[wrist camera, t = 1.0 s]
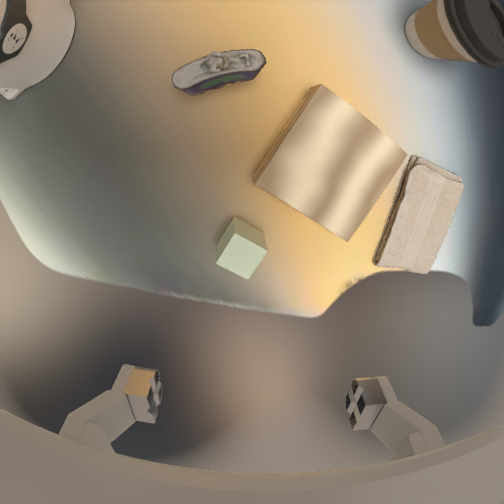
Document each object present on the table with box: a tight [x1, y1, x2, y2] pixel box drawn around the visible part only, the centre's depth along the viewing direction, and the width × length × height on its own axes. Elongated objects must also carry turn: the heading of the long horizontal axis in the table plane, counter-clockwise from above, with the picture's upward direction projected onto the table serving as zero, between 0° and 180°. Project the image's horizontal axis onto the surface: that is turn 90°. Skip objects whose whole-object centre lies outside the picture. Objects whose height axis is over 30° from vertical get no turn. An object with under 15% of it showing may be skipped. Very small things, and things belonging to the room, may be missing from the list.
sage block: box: [216, 216, 268, 279], centre depth 38 cm, size 4×4×6 cm
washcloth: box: [373, 156, 464, 274], centre depth 40 cm, size 12×18×3 cm, turn 168°
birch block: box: [252, 84, 408, 242], centre depth 35 cm, size 14×14×5 cm
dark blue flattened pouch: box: [172, 49, 266, 95], centre depth 27 cm, size 9×3×11 cm, turn 104°
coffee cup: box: [405, 0, 504, 68], centre depth 22 cm, size 11×11×15 cm
